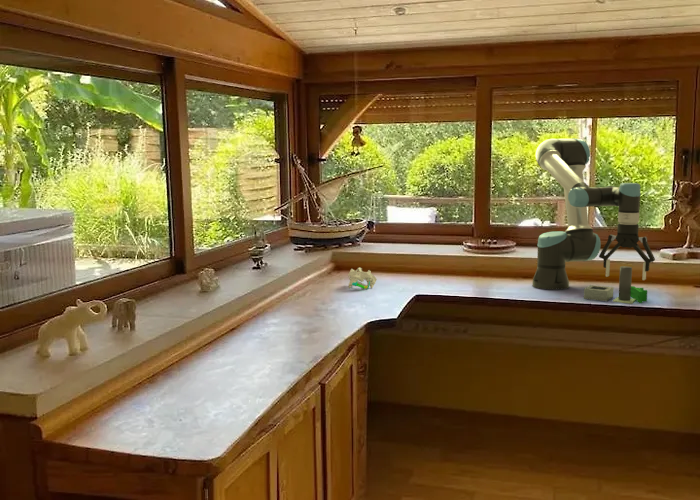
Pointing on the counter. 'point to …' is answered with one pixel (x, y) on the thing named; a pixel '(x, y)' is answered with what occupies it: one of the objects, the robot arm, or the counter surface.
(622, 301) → the pad
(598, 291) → the housing
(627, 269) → the grey rectangular bar
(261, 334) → the counter surface
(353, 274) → the jaw support
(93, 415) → the counter surface
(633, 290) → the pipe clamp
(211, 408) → the counter surface
